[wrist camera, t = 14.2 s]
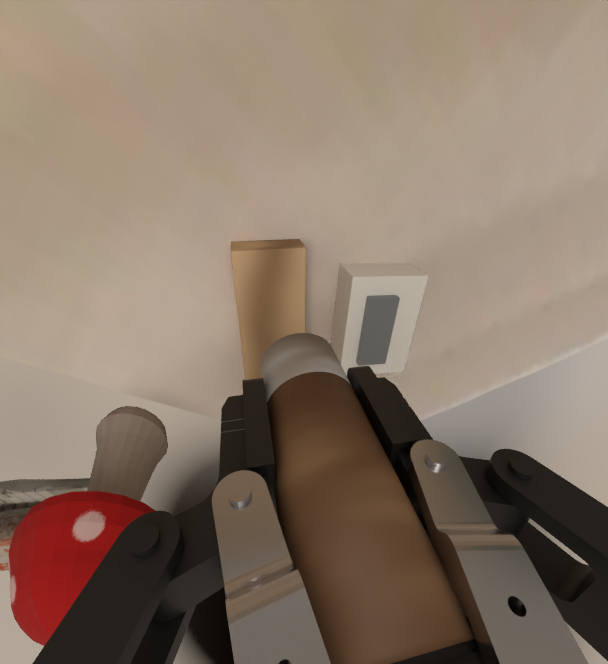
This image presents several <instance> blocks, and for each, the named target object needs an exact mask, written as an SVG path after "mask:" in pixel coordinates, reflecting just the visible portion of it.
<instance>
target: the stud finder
mask: <svg viewBox="0 0 608 664" xmlns="http://www.w3.org/2000/svg"><path fill="white" fill-rule="evenodd" d="M427 280H428V275H427V274H425V273H424V272H422V271H421V270H419V269H417V268H416V267H414V266H413V265H411V264H410V263H340V266H339V275H338V284H337V292H336V301H335V310H334V319H333V328H332V337H331V347H332V349H333V350H334V352H335V354H336V356H337V358H338V360H339V362H340V364H341V366H342V368H343V370H344V372H345V374H346V376H347V371H348V368H352V367H360V366H370V367H371V369H372V370H373V372H374V374H381V373H393V372H403V371H404V367H405V363H406V359H407V355H408V352H409V348H410V344H411V340H412V336H413V333H414V329H415V325H416V321H417V317H418V314H419V310H420V306H421V302H422V298H423V295H424V291H425V287H426V283H427Z"/></svg>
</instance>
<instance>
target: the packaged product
mask: <svg viewBox="0 0 608 664" xmlns="http://www.w3.org/2000/svg"><path fill="white" fill-rule="evenodd" d="M89 481H90V478H81V479H18V480H9V481H1V482H0V571H6V570H9V567H8V556H9V548H10V544H11V541H12V537H13V533H14V530H15V529H16V528H17V526H18V525H19V524H20V522H21V521H22V520H23V518H24V517H25V516H26V514H27V513H28V512H29V510H30V509H31V508H32V506H34V505H36V504H38V503H40V502H41V501H43V500H45V499H47V498H49V497H52V496H56V495H60V494H64V493H69V492H75V491H87V489H88V485H89Z"/></svg>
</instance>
